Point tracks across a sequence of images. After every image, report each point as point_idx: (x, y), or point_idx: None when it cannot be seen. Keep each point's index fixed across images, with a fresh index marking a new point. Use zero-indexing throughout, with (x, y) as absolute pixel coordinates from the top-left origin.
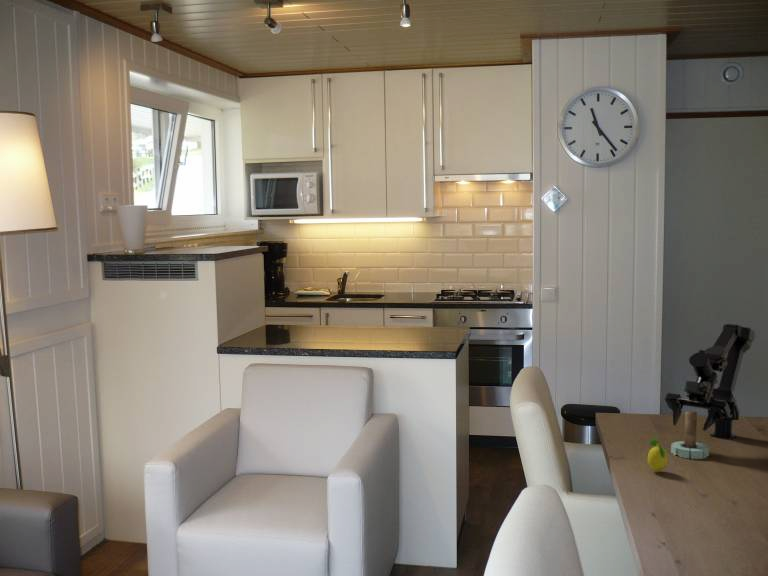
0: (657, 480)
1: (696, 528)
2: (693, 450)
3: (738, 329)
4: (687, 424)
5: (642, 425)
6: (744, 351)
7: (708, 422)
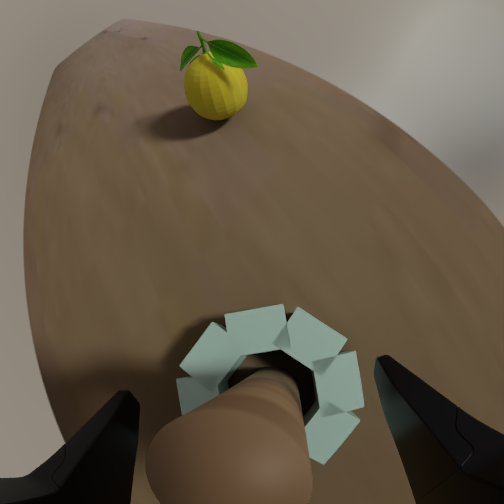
0: None
1: (97, 57)
2: (210, 335)
3: None
4: (252, 386)
5: None
6: None
7: (81, 427)
